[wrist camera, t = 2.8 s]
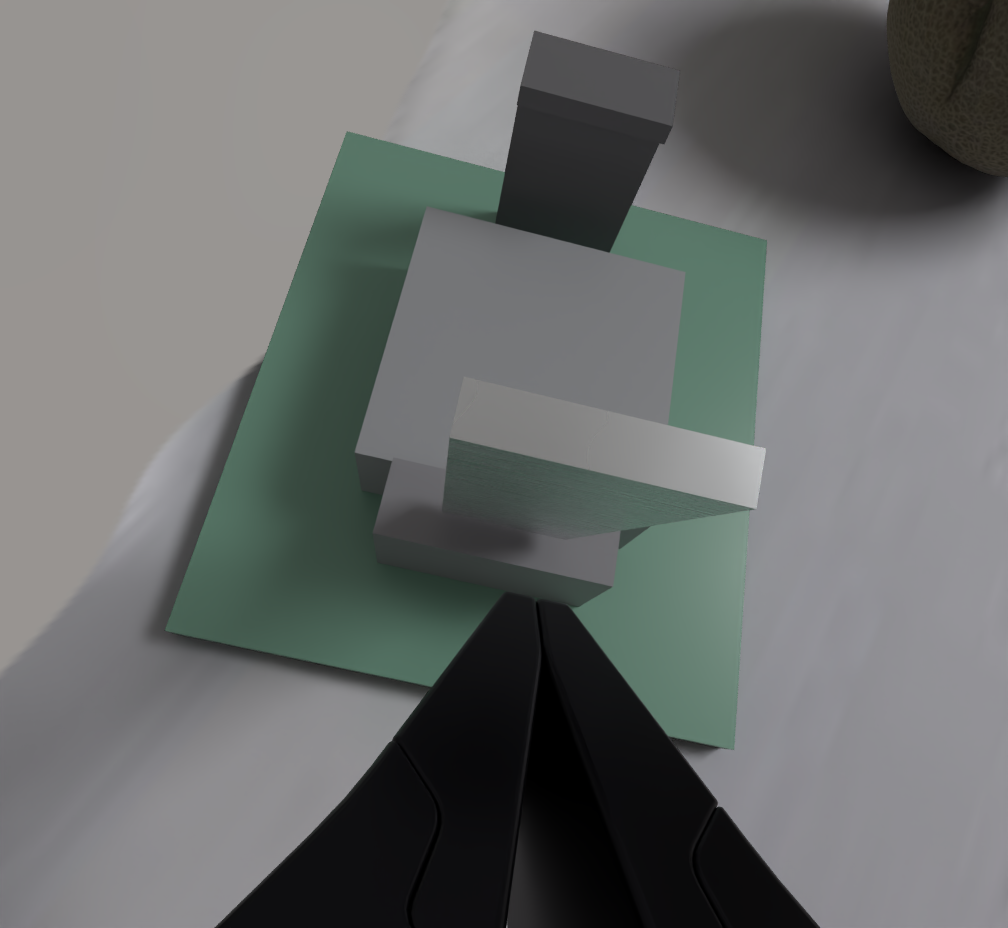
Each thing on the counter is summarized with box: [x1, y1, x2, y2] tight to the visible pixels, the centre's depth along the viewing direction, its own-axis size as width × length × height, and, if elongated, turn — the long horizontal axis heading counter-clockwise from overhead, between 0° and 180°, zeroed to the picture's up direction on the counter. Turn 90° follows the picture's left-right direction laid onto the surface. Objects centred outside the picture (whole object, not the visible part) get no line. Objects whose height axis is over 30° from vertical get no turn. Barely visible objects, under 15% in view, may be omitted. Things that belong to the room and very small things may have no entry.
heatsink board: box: [165, 31, 767, 750], centre depth 19 cm, size 18×16×8 cm
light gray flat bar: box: [442, 377, 766, 540], centre depth 11 cm, size 1×3×10 cm, turn 78°
